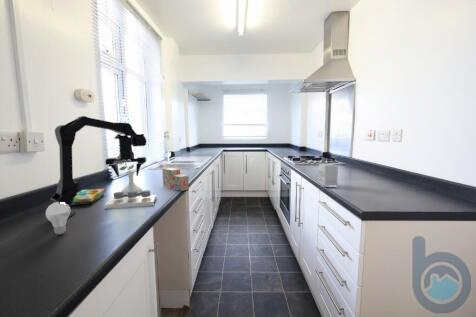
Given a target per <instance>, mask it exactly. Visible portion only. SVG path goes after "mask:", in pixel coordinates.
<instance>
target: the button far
mask: <svg viewBox="0 0 476 317" xmlns="http://www.w3.org/2000/svg"><path fill="white" fill-rule="evenodd" d="M150 195H151V190H142V191H141V193H140V196H141V197H149V196H150Z"/></svg>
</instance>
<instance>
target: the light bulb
mask: <svg viewBox="0 0 476 317" xmlns="http://www.w3.org/2000/svg"><path fill="white" fill-rule="evenodd" d="M70 212H71V213H72V209H71V210H70V207H69V205H68V204H66V203H64V202H55V203H53V202H52V204H50V205H48V207H46V210H45V217H46V219H47V220H48V221H49V222H51V224H52V228H53V231H54V233H55V234H56V235H58V236H61V235H63V234H64V233H65V232H66V231H67V228H66V227H67V226H66V224H67V220H68V219H69V218H68V217H69V215H70ZM67 218H68V219H67Z"/></svg>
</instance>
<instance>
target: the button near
mask: <svg viewBox="0 0 476 317" xmlns="http://www.w3.org/2000/svg"><path fill="white" fill-rule="evenodd" d="M123 197H125V195H124V194H123V192H121V191H117V192H114V193H113V198H114V199H120V198H123Z"/></svg>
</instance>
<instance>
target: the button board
mask: <svg viewBox="0 0 476 317" xmlns="http://www.w3.org/2000/svg"><path fill="white" fill-rule="evenodd" d="M156 201H157V194H150V196H149V197H141V195H137V197H135V198H128V196H124V197H123V198H120V199H114V197H112V198H110V199H109V200H108V201H107V202H106V203H105V204H104V209H105V210H107V209H119V208H120V209H121V208H123V209H124V208H137V207H149V206H150V207H151V205H152V206H154V205H155V203H156ZM154 202H155V203H154Z"/></svg>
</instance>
